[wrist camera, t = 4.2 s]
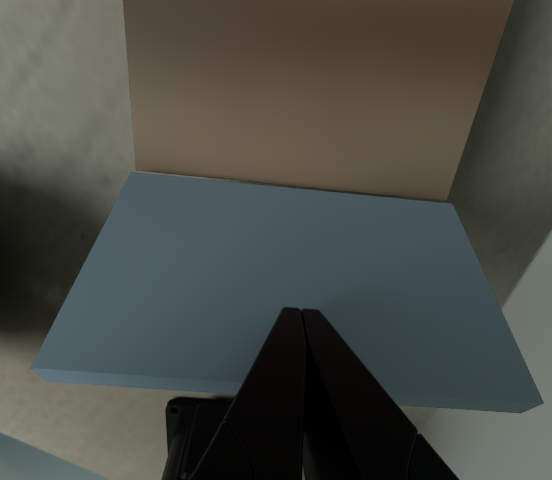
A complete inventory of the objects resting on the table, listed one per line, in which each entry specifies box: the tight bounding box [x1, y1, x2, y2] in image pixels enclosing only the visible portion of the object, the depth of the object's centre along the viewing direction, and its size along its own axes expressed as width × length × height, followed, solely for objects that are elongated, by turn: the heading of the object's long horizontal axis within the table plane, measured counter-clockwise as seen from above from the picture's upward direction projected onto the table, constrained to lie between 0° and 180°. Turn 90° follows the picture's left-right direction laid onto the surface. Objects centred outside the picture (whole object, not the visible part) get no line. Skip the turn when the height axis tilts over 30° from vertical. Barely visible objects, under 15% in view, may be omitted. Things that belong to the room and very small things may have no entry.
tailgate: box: [30, 172, 544, 413], centre depth 10 cm, size 1×11×6 cm, turn 84°
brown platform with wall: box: [123, 0, 514, 201], centre depth 10 cm, size 9×11×6 cm
